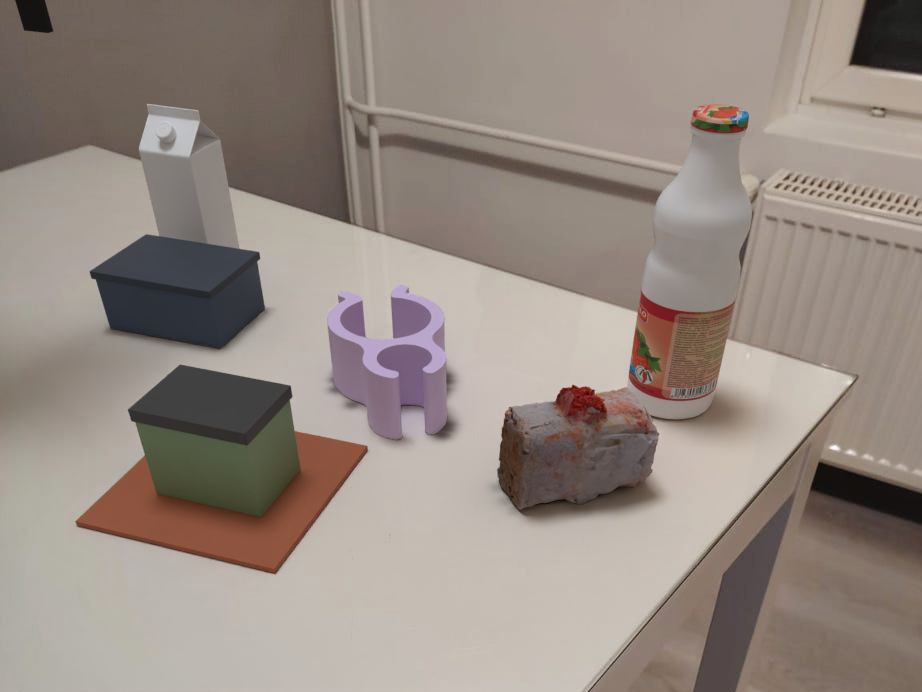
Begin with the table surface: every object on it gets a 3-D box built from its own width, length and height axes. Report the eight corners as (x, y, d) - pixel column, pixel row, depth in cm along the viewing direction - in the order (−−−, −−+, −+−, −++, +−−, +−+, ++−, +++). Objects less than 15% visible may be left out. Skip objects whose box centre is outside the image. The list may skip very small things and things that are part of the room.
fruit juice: (701, 429, 94) (766, 134, 74) (615, 410, 96) (654, 119, 76) (720, 387, 100) (784, 103, 80) (638, 370, 102) (680, 90, 82)
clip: (473, 428, 93) (474, 367, 88) (355, 445, 91) (349, 383, 86) (428, 339, 107) (426, 282, 102) (323, 352, 104) (316, 294, 99)
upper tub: (153, 494, 84) (127, 409, 77) (200, 447, 89) (179, 364, 83) (262, 519, 81) (245, 433, 75) (303, 469, 87) (291, 385, 81)
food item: (617, 449, 91) (630, 360, 84) (655, 494, 86) (672, 402, 79) (492, 475, 87) (494, 384, 80) (522, 523, 82) (528, 430, 75)
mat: (76, 525, 81) (74, 521, 81) (193, 414, 95) (192, 410, 94) (275, 573, 77) (274, 569, 77) (368, 449, 90) (367, 445, 90)
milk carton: (196, 252, 124) (163, 96, 110) (242, 259, 122) (214, 102, 108) (167, 272, 119) (129, 112, 105) (214, 281, 117) (181, 119, 104)
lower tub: (106, 329, 108) (88, 271, 103) (159, 289, 115) (146, 233, 110) (221, 350, 104) (209, 291, 99) (268, 308, 112) (259, 251, 107)
